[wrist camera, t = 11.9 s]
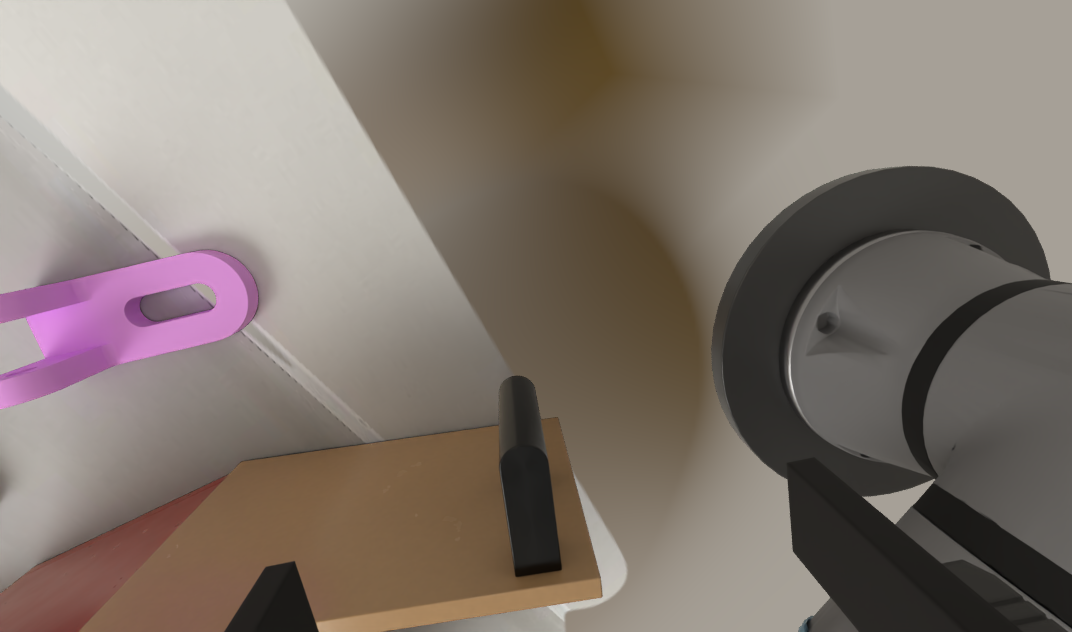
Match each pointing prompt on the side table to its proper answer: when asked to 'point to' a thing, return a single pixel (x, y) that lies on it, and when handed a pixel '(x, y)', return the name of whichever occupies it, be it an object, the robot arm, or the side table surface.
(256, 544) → the cabinet door
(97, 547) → the cabinet
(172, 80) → the side table surface
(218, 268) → the bracket
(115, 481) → the side table surface
